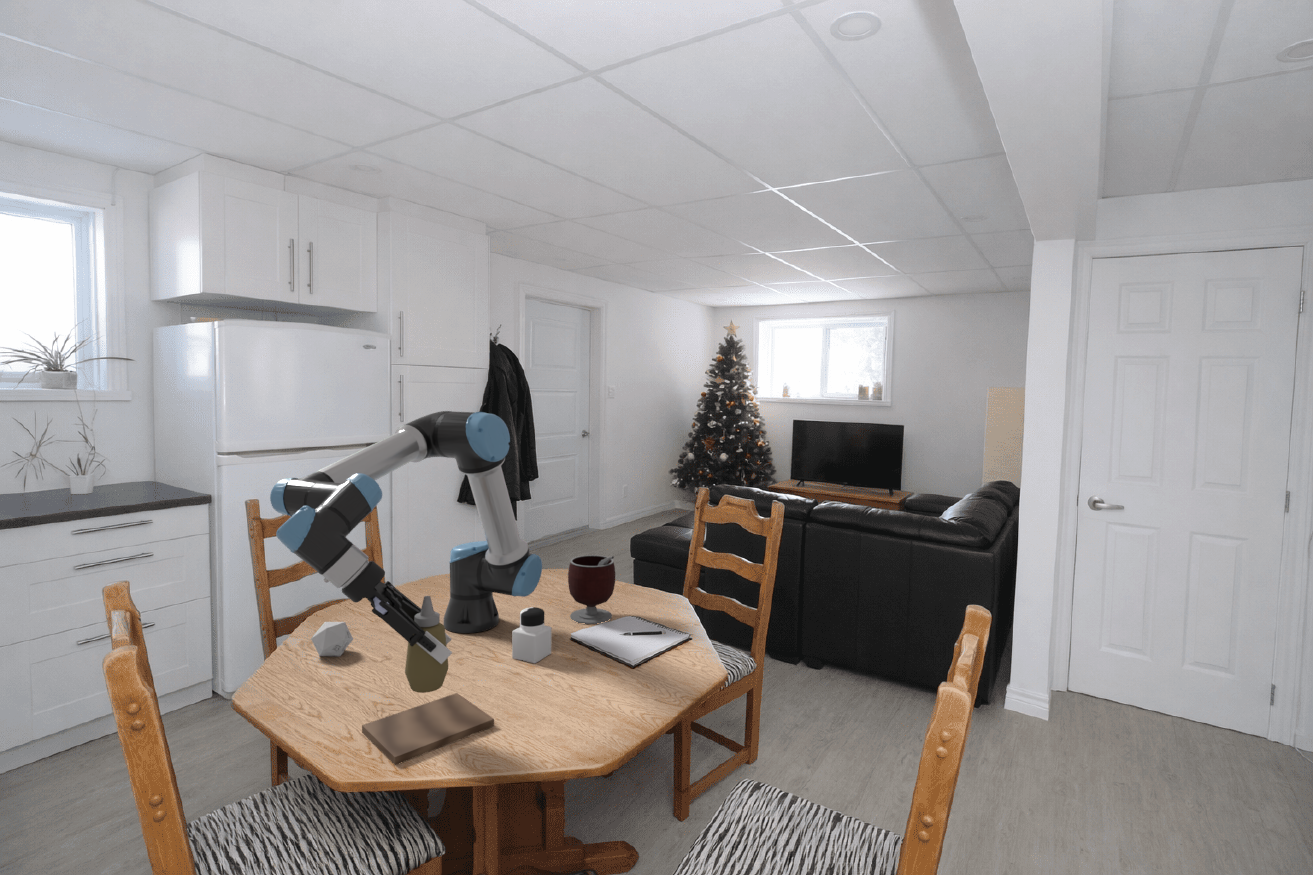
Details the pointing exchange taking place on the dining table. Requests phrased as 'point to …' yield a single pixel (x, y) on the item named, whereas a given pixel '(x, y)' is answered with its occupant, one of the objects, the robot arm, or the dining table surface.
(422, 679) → the squeeze bottle
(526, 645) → the medicine bottle
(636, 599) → the dining table surface
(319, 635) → the die
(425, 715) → the walnut board
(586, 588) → the mate gourd
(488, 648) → the dining table surface
